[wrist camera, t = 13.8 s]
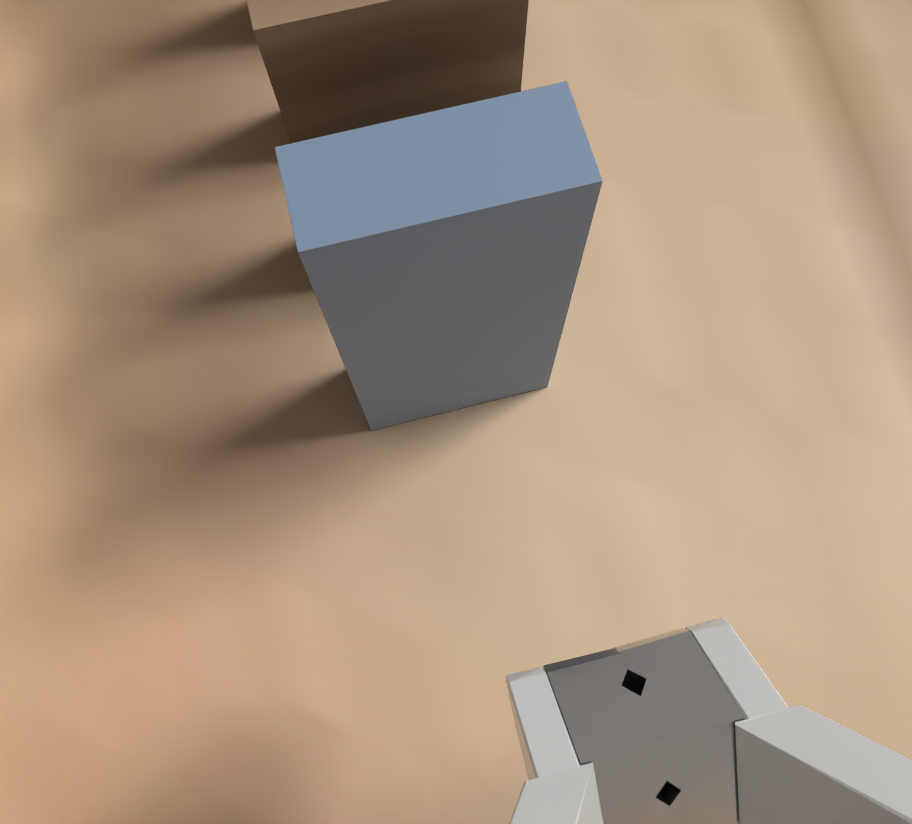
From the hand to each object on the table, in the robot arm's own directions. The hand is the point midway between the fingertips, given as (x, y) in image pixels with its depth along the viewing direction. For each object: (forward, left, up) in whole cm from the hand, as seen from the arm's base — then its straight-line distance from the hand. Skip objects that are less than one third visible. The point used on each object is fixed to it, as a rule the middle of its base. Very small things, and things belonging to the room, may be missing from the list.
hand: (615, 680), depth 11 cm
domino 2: (-4, +7, -10) cm, 13 cm away
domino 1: (-7, +11, -10) cm, 16 cm away
